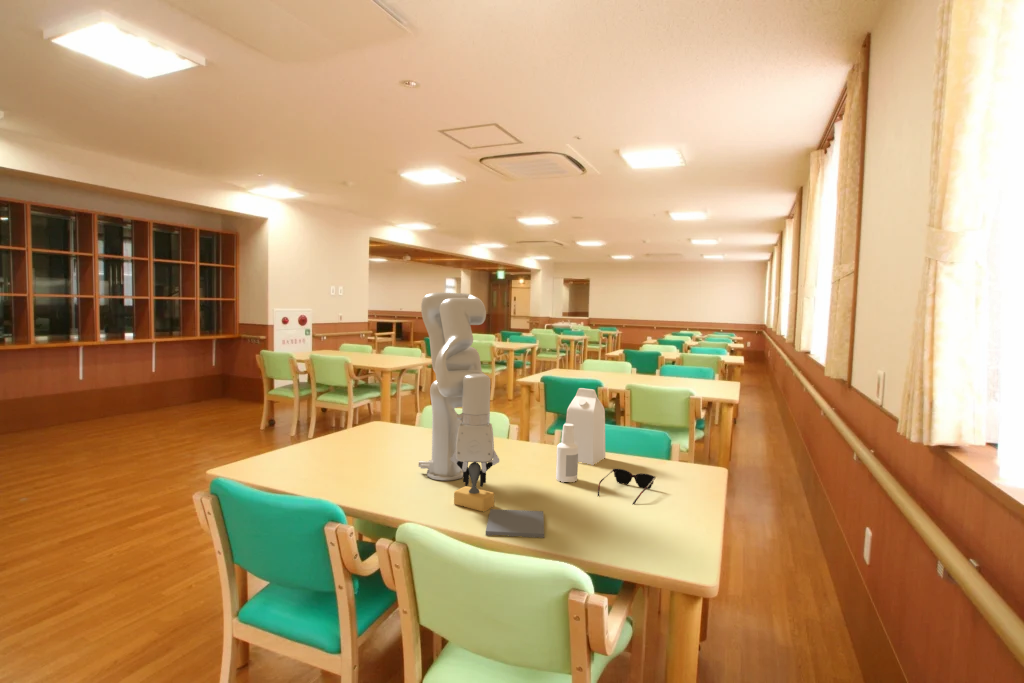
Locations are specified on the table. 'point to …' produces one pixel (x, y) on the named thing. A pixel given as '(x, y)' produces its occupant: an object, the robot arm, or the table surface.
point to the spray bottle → (567, 456)
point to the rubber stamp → (474, 492)
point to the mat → (515, 523)
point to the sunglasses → (626, 477)
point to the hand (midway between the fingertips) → (474, 484)
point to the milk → (588, 425)
